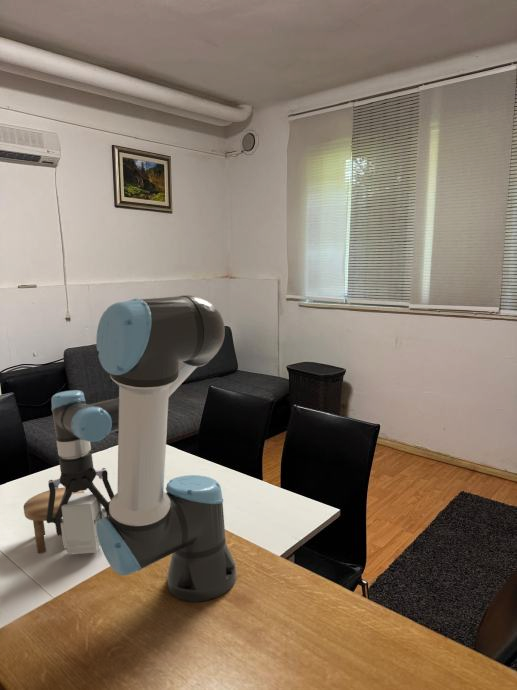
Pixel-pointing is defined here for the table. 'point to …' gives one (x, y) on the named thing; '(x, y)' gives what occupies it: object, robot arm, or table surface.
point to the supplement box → (81, 523)
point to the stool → (42, 513)
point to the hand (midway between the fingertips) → (86, 539)
